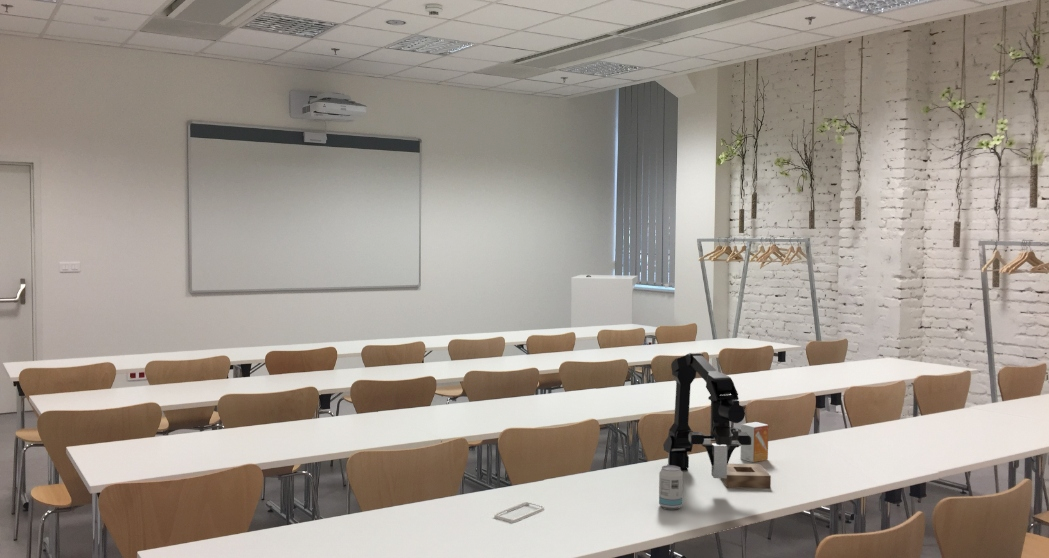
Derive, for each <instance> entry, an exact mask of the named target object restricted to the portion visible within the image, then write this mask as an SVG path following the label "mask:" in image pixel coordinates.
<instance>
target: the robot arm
mask: <svg viewBox="0 0 1049 558" xmlns="http://www.w3.org/2000/svg"><path fill="white" fill-rule="evenodd" d="M704 356H705V355H704V354H703V353H701V352H689V353H687V354H685V355H683V356H681V357H678V358H674V359H673V360H672V361H671V364H670V368H671V375H672V377H673V379H674V381H675V383H676V384H675V401H674V422H673V424H672V425H671V427H669V429H668V436H667V438H666V439H665V441H664V443H663V450H664V451H665V452H667V465H673V466H678V467H680V470H681V472H685V471H686V472H688V470H689V467H690V466H689V465H690V464H689V462H690V457H689V455H688V453H690V452H691V453H692V450H693V445H701V446H702V447H704V448H705V450H706V453H707V455H708V458H709V462H710V465H711V466H712V465H713V451H712V448H713V446H712V442H715V443H716V444H717V445H726V446H727V465H728V464H729V462H730V459H731V456H732V454H733V452H734V450H735V449H736V448H740V446H741V445H751V437H750V436H749V435H748V434H747V433H746V432H741V431H739V429H738V428H731V426H730V425H731V424H730V422H731V423H733V424H739V423H741V422H742V421H743V420H744V419H745V416H746V411H745V409H744V407H743V406H742V405H740V400H739V399H740V398H739V392H738V391H737V388H736V386H735V384H734V381H733V379H732V378H731V377H730V375H728V374H726V373H723V372H719V371H718V370H717V369H715V368H714V366H713V365H712V364H711V363H710V362H709V361H708V360H707V359H706V358H705V357H704ZM697 374H698V375H699V376H700V377H701V378H702V379H703V380H704V381H705V388H706V389H707V392H708V393H709V396H708V400H710V428H709V430H710V432H709V433H710V434H703V432H702V431H693V430H692V429H691V427H690V426H689V420H690V401H691V387H692V386H691V385H692V384H693V382H694V380H695V379H696V377H697ZM739 444H740V445H739Z"/></svg>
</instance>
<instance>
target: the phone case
mask: <svg viewBox="0 0 1049 558" xmlns="http://www.w3.org/2000/svg"><path fill="white" fill-rule="evenodd" d="M530 505H533V506H535V507H540V508H537V509H535V510H533V511H530V512H527V513H525V514H523V515H521V516H517V517H515V518H513V519H512V518H509V517H506V516H502V515H500V514H502V513H505V512H506V513H509V512H511V511H514V510H516V509H519V508H521V507H524V506H530ZM544 510H545V506H544V505H540V504H536V503H532V502H528V501H525V502H521V503H520V504H516V505H514V506H512V507H510V508H507V509H504V510H501V511H500V512H496V513H494V519H498V520H500V521H505V522H508V523H517V522H519V521H521V520H523V519H526V518H528V517H531V516H533V515H535V514H538V513H540V512H543V511H544Z"/></svg>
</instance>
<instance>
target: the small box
mask: <svg viewBox="0 0 1049 558" xmlns="http://www.w3.org/2000/svg"><path fill="white" fill-rule="evenodd" d="M769 428H770V427H769V424H767V423H763V422H758V421H754V422H747V423H741V424H740V432H746V433H747V434H748V435H749V436H750V437H751V445H741V444H740V457H739V458H740V459H741V460H744V461H746V462H750V463H757V462H762V461H768V459H769V431H770V430H769Z"/></svg>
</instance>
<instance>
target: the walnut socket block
mask: <svg viewBox="0 0 1049 558" xmlns="http://www.w3.org/2000/svg"><path fill="white" fill-rule="evenodd" d="M720 479H721V481H722V483H723V484H724V485H725V486H726V488H743V489H744V488H747V489H749V488H750V489H751V488H754V489H771V483H772V482H771V479H772V475H770V473H769V472H768V471H767V470H766V469H765V468H764V466H763V465H761V463H728V465H727V478H720Z"/></svg>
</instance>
